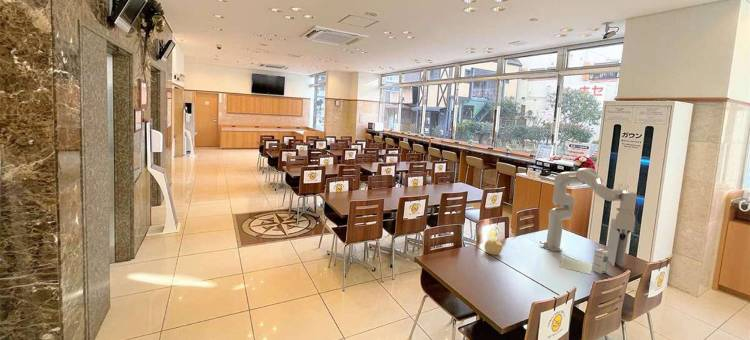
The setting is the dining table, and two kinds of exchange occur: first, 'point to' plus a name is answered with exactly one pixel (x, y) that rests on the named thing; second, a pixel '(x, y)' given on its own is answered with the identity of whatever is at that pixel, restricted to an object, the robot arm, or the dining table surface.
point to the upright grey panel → (616, 246)
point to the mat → (576, 265)
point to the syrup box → (600, 260)
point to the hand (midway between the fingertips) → (622, 239)
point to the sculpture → (493, 246)
